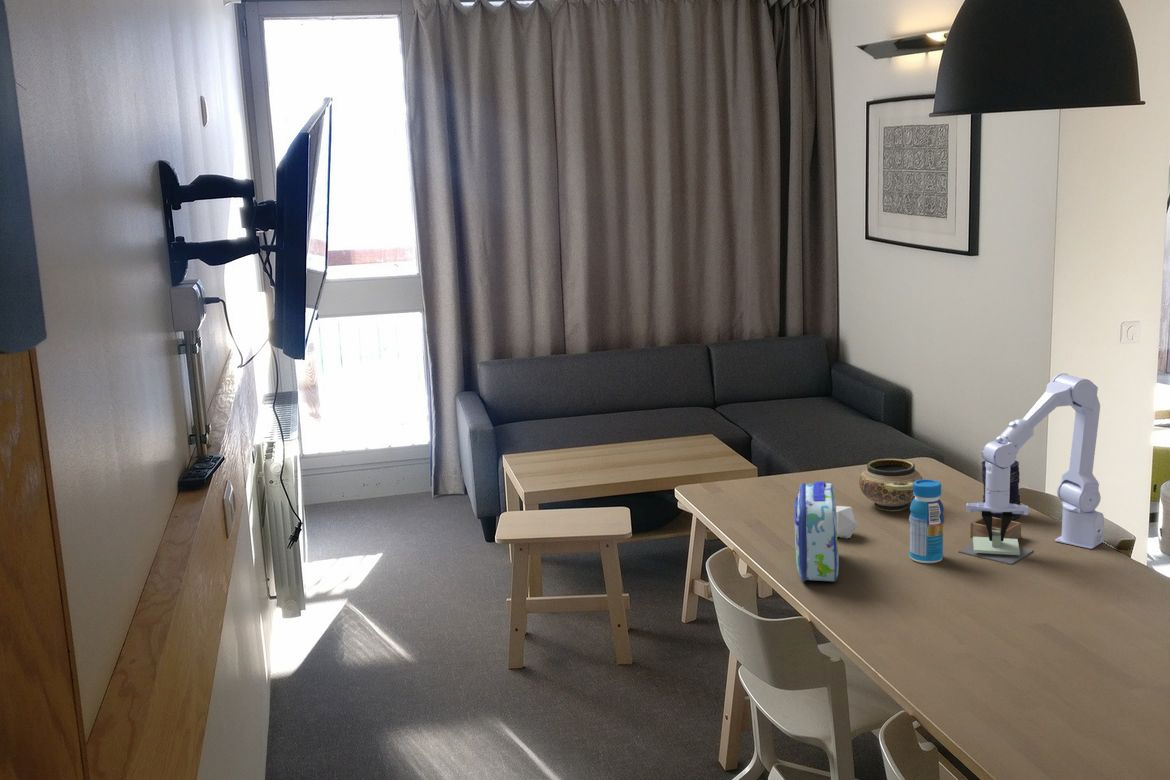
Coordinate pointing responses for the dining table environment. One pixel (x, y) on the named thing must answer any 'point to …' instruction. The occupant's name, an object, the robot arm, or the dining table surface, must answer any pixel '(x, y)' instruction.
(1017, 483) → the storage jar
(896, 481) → the ceramic bowl
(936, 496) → the beverage bottle
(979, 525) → the box
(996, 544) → the lid
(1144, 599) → the dining table surface
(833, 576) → the lunch box
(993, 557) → the mat
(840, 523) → the die
